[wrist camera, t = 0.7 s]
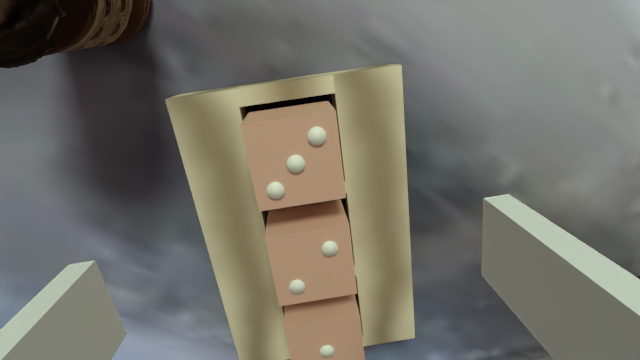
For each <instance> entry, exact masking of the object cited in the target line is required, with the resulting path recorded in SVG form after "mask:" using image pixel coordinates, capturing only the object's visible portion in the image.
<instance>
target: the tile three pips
mask: <svg viewBox="0 0 640 360" xmlns="http://www.w3.org/2000/svg"><path fill="white" fill-rule="evenodd" d="M240 126H241V131H242V135H243V140H244V144H245V149H246V154H247V158H248V163H249V168H250V172H251V177H252V181H253V186H254V191H255V195H256V200H257V205H258V209H259V212H260V211H266V210H272V209H279V208H285V207H292V206H298V205H304V204H311V203H317V202H324V201H330V200H337V199H343V198H346V192H345V184H344V175H343V167H342V158H341V150H340V141H339V133H338V124H337V116H336V110H335V109H334V107H333V106H332V105H331V104H330V102H329V101H322V102H315V103H308V104H302V105H295V106H288V107H281V108H275V109H268V110H261V111H254V112H249V113H248V114H247V116H246V117H245V119H244V120H243V121H242V123H241V124H240Z"/></svg>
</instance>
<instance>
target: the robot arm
mask: <svg viewBox="0 0 640 360" xmlns="http://www.w3.org/2000/svg"><path fill="white" fill-rule="evenodd" d="M481 275H482V276H483V277H484V278H485V280H486V281H487V282H488V283H489V284H490V285H491V287H492V288H493V289H494V290H495V291H496V292H497V294H498V295H499V296H500V297H501V298H502V299H503V301H504V302H505V303H506V304H507V305H508V306H509V308H510V309H511V310H512V311H513V312H514V313H515V315H516V316H517V317H518V318H519V319H520V320H521V322H522V323H523V324H524V325H525V326H526V327H527V329H528V330H529V331H530V332H531V333H532V334H533V336H534V337H535V338H536V339H537V340H538V341H539V343H540V344H541V345H542V346H543V347H544V348H545V350H546V351H547V352H548V353H549V354H550V355H551V357H553V359H554V360H640V276H637V277H635V276H634V275H632V274H631V273H629V272H628V271H626V270H625V269H623V268H621V267H620V266H618V265H617V264H615V263H614V262H612V261H611V260H609V259H608V258H606V257H605V256H603V255H601V254H600V253H598V252H597V251H595V250H594V249H592V248H591V247H589V246H588V245H586V244H585V243H583V242H581V241H580V240H578V239H577V238H575V237H574V236H572V235H571V234H569V233H568V232H566V231H565V230H563V229H561V228H560V227H558V226H557V225H555V224H554V223H552V222H551V221H549V220H548V219H546V218H545V217H543V216H541V215H540V214H538V213H537V212H535V211H534V210H532V209H531V208H529V207H528V206H526V205H524V204H523V203H521V202H520V201H518V200H517V199H515V198H514V197H512V196H511V195H509V194H506V195H500V196H493V197H487V198H484V200H483V233H482V267H481ZM125 335H126V331H125V329H124V327H123V324H122V322H121V320H120V317H119V315H118V313H117V310H116V308H115V306H114V303H113V301H112V299H111V296H110V294H109V292H108V289H107V287H106V285H105V282H104V280H103V278H102V275H101V273H100V270H99V268H98V266H97V263H96V261H95V260H94V261H88V262H82V263H76V264H69V265H68V266H67V267H66V268H65V269H64V270H63V271H61V272H60V273H59V274H58V275H57V276H56V277H55V278H54V279H53V280H52V281H51V282H50V283H49V284H48V285H47V286H46V287H45V288H44V289H43V290H42V291H40V292H39V293H38V294H37V295H36V296H35V297H34V298H33V299H32V300H31V301H30V302H29V303H28V304H27V305H26V306H25V307H24V308H23V309H22V310H21V311H19V312H18V313H17V314H16V315H15V316H14V317H13V318H12V319H11V320H10V321H9V322H8V323H7V324H6V325H5V326H4V327H3V328H2V329H1V330H0V360H111V359H112V357H113V356H114V354H115V352H116V351H117V349H118V347H119V345H120V344H121V342H122V340H123V339H124V337H125Z"/></svg>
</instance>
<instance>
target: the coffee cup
mask: <svg viewBox="0 0 640 360" xmlns="http://www.w3.org/2000/svg"><path fill="white" fill-rule="evenodd" d="M149 5H150V0H0V68H12V67H18V66H23V65H26V64H29V63H33V62H35V61H37V59H38V58H42V56H46V55H50V54H54V53H62V52H71V51H75V50H79V49H86V48H93V47H98V46H102V45H112V44H117V43H120V42H123V41H126V40H128V39H131V38H132V37H134V36H135V35H136V34H137V33H138V32H139V30H140V29H141V28H142V26H143V25H144V23H145V20H146V18H147V15H148V10H149Z"/></svg>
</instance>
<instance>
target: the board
mask: <svg viewBox="0 0 640 360" xmlns="http://www.w3.org/2000/svg"><path fill="white" fill-rule="evenodd" d="M326 94H331V98H332V106H333V107H334V109H335V110H336V116H337V124H338V133H339V141H340V150H341V158H342V167H343V175H344V184H345V192H346V198H344V206H345V213H346V216H347V219H348V222H349V227H350V235H351V244H352V252H353V261H354V269H355V278H356V286H357V294H355V298H356V302H357V306H358V310H359V314H360V320H361V329H362V338H363V346H370V345H376V344H382V343H388V342H394V341H400V340H406V339H412V338H415V329H414V309H413V288H412V268H411V248H410V227H409V207H408V186H407V166H406V146H405V125H404V105H403V84H402V65H396V64H385V65H378V66H371V67H364V68H357V69H350V70H343V71H336V72H330V73H323V74H316V75H309V76H302V77H295V78H288V79H281V80H274V81H268V82H261V83H254V84H247V85H240V86H233V87H226V88H219V89H212V90H206V91H199V92H192V93H185V94H178V95H176V96H173V97H170V98H168V99H165V101H166V105H167V108H168V112H169V115H170V119H171V122H172V126H173V129H174V133H175V136H176V140H177V143H178V147H179V150H180V154H181V157H182V161H183V164H184V168H185V171H186V175H187V178H188V182H189V185H190V189H191V192H192V196H193V199H194V203H195V206H196V210H197V213H198V217H199V220H200V224H201V227H202V231H203V234H204V238H205V241H206V245H207V248H208V252H209V255H210V259H211V262H212V266H213V269H214V273H215V276H216V280H217V283H218V287H219V290H220V294H221V297H222V301H223V304H224V308H225V311H226V315H227V318H228V322H229V325H230V329H231V332H232V336H233V339H234V343H235V346H236V350H237V353H238V357H239V360H287V359H291V357H290V353H289V348H288V343H287V339H286V334H285V329H284V308H285V306H279V302H278V297H277V292H276V288H275V283H274V279H273V274H272V269H271V265H270V260H269V255H268V251H267V246H266V242H265V232H266V224H267V217H268V212H267V210H266V211H260V212H259V209H258V205H257V200H256V195H255V191H254V186H253V181H252V177H251V172H250V168H249V163H248V158H247V154H246V149H245V144H244V140H243V135H242V131H241V126H240V124H241V123H242V121H243V120H244V119H245V117H246V116H247V110H246V106H251V105H258V104H264V103H271V102H278V101H285V100H292V99H299V98H305V97H312V96H319V95H326Z"/></svg>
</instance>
